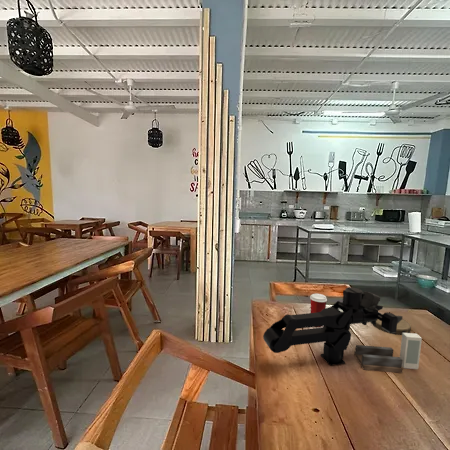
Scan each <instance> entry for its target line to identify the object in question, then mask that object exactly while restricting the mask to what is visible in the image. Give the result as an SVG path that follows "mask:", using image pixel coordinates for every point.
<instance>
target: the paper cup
mask: <svg viewBox="0 0 450 450" xmlns="http://www.w3.org/2000/svg"><path fill="white" fill-rule="evenodd" d="M309 299H310V313H317V312H321V311H322V310H323V309H325V308H327V301H328V299H327V296H326V295H324V294H323V293H322V294H321V293H312V294H311V295H310V296H309ZM322 327H323V326H317V327H316V328H322Z"/></svg>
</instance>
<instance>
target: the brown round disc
mask: <svg viewBox="0 0 450 450" xmlns="http://www.w3.org/2000/svg"><path fill="white" fill-rule="evenodd" d="M381 323H382V321H380V320H379V319H378V320H377V321H376V324H372V323H371V324H372V326H373V327H374V328H377V330H380V331H381V332H384V333H387V334H391V335H397V336H402V333H411V330H412V325H411V323H410V322H409V321H408V320H406V319H405V318H402V320H401V321H400V322H399V323H398V324H397V330H396V332H395V333H389V332H388V331H386V330H384V329H383V328H382V327H381Z"/></svg>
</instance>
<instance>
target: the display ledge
mask: <svg viewBox="0 0 450 450" xmlns="http://www.w3.org/2000/svg"><path fill="white" fill-rule="evenodd" d="M353 354H354V357H355V358H356V360H357V361H358V363H359V365H360V366H361V368H362V369H363V370H366V371H374V372H375V371H376V372H387V373H398V374H399V373H400V374H403V369H404V368H403V367H402V359H401V358H400V356H394V349H393V347H387V346H378V345H377V346H375V345H365V344H364V345H363V344H362V345H361V344H356V345H355V350H354V353H353Z"/></svg>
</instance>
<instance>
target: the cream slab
mask: <svg viewBox="0 0 450 450" xmlns="http://www.w3.org/2000/svg"><path fill="white" fill-rule="evenodd" d="M400 340H401V341H400V353H399V357H400V358H401V359H402V369H411V370H419V366H420V358H421V348H422V340H423V338H422V337H421V336H420V335H419V334H418V333H415V332H414V333H413V332H410V333H402V335H401V339H400Z"/></svg>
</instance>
